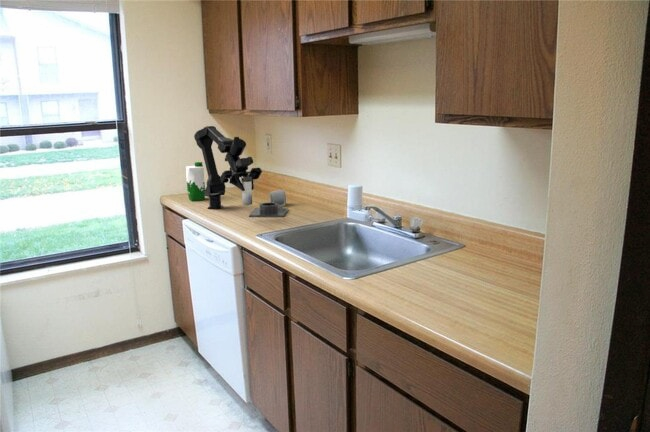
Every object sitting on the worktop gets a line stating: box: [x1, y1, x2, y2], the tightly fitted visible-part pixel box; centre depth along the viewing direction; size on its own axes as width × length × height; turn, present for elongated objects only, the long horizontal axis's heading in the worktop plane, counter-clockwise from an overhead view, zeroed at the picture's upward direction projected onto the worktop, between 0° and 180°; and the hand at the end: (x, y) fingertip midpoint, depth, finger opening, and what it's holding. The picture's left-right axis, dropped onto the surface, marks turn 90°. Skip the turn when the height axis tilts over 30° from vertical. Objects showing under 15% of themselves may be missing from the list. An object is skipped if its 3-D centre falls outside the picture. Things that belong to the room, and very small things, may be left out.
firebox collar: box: [248, 202, 289, 218], centre depth 243 cm, size 16×16×4 cm
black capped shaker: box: [240, 176, 253, 206], centre depth 229 cm, size 4×4×12 cm
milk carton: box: [185, 161, 206, 202], centre depth 276 cm, size 9×9×20 cm
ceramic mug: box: [267, 189, 287, 208], centre depth 260 cm, size 11×8×8 cm
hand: (248, 189), depth 228 cm, fingers closed on black capped shaker, 4 cm apart
